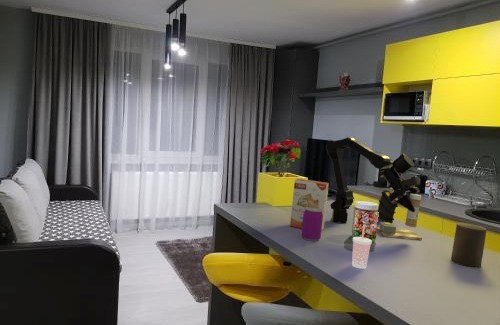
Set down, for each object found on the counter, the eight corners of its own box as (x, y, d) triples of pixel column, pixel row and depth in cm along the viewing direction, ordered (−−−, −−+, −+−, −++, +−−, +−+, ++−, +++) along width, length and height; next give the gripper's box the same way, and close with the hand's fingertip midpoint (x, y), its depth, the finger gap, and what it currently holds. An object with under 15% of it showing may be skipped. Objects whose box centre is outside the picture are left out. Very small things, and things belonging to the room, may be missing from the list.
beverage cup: (365, 271, 127) (370, 228, 125) (347, 266, 130) (351, 224, 129) (371, 266, 132) (376, 224, 131) (352, 261, 135) (357, 221, 134)
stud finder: (383, 232, 173) (384, 225, 173) (379, 228, 180) (380, 221, 180) (395, 233, 173) (396, 226, 173) (390, 229, 180) (391, 222, 180)
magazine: (379, 213, 212) (389, 190, 205) (390, 229, 201) (400, 206, 193) (373, 212, 211) (382, 189, 204) (383, 229, 200) (393, 205, 193)
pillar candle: (470, 268, 138) (476, 226, 136) (445, 259, 146) (451, 219, 145) (487, 266, 142) (493, 225, 141) (461, 257, 151) (467, 218, 149)
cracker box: (289, 226, 174) (294, 179, 172) (293, 223, 180) (297, 178, 177) (321, 232, 169) (326, 183, 167) (324, 229, 174) (329, 182, 172)
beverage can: (298, 238, 157) (301, 208, 155) (304, 234, 163) (307, 205, 162) (316, 242, 153) (320, 212, 152) (323, 238, 160) (326, 209, 159)
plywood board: (384, 236, 171) (384, 234, 171) (376, 229, 183) (376, 227, 183) (421, 240, 170) (422, 237, 170) (411, 232, 182) (411, 230, 182)
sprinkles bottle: (409, 224, 170) (414, 193, 169) (418, 227, 166) (424, 195, 165) (402, 224, 167) (407, 193, 167) (411, 227, 163) (416, 195, 163)
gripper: (400, 169, 160) (423, 202, 154) (418, 168, 174) (440, 198, 167) (379, 185, 167) (401, 217, 160) (398, 183, 180) (419, 212, 174)
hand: (416, 211), depth 165 cm, fingers closed on sprinkles bottle, 4 cm apart
